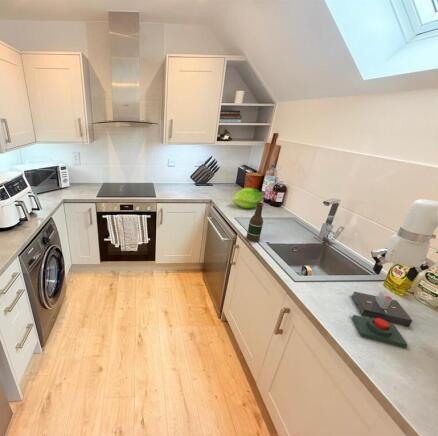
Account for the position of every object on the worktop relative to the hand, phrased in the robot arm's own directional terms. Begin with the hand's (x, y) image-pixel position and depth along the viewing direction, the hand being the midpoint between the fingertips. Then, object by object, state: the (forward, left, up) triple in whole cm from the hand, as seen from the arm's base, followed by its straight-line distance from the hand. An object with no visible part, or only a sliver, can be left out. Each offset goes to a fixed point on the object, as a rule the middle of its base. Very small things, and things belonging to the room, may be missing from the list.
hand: (392, 275), depth 88 cm
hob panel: (-1, +1, -16) cm, 16 cm away
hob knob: (-1, +1, -13) cm, 13 cm away
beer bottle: (+45, -44, -16) cm, 65 cm away
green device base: (+4, +14, -16) cm, 22 cm away
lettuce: (+51, -102, -16) cm, 115 cm away
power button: (+4, +14, -13) cm, 20 cm away
